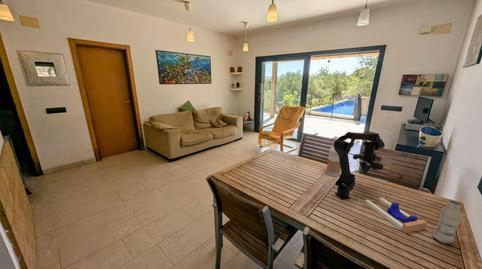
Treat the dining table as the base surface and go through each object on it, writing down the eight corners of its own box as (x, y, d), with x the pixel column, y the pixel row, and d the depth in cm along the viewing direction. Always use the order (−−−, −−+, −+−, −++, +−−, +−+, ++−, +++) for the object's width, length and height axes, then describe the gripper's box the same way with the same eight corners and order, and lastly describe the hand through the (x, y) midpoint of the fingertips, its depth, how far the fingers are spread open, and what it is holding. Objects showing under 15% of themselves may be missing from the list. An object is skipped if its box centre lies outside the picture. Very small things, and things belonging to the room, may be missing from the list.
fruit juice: (331, 177, 145) (336, 142, 137) (323, 171, 154) (327, 138, 146) (342, 175, 147) (347, 141, 139) (333, 170, 155) (338, 137, 148)
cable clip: (386, 212, 106) (389, 203, 105) (394, 211, 107) (396, 202, 105) (406, 228, 95) (409, 218, 93) (414, 227, 95) (417, 217, 93)
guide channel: (405, 233, 91) (407, 226, 90) (364, 203, 114) (365, 197, 113) (425, 229, 94) (427, 222, 93) (381, 200, 116) (382, 194, 115)
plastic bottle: (428, 235, 90) (439, 198, 85) (441, 234, 91) (453, 198, 85) (443, 246, 84) (456, 208, 78) (456, 245, 84) (471, 207, 79)
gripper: (393, 155, 112) (388, 179, 117) (368, 145, 130) (364, 166, 134) (377, 157, 111) (372, 181, 115) (353, 146, 128) (350, 167, 133)
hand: (364, 173), depth 124 cm, fingers closed
